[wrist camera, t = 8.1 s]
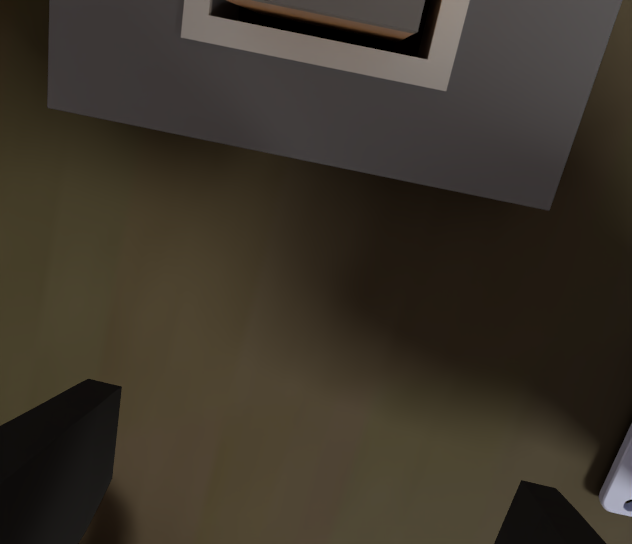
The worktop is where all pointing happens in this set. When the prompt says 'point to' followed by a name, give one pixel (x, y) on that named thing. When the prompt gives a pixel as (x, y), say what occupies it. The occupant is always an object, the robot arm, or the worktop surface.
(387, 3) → the plug
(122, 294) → the worktop surface
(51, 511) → the robot arm
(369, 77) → the socket block
